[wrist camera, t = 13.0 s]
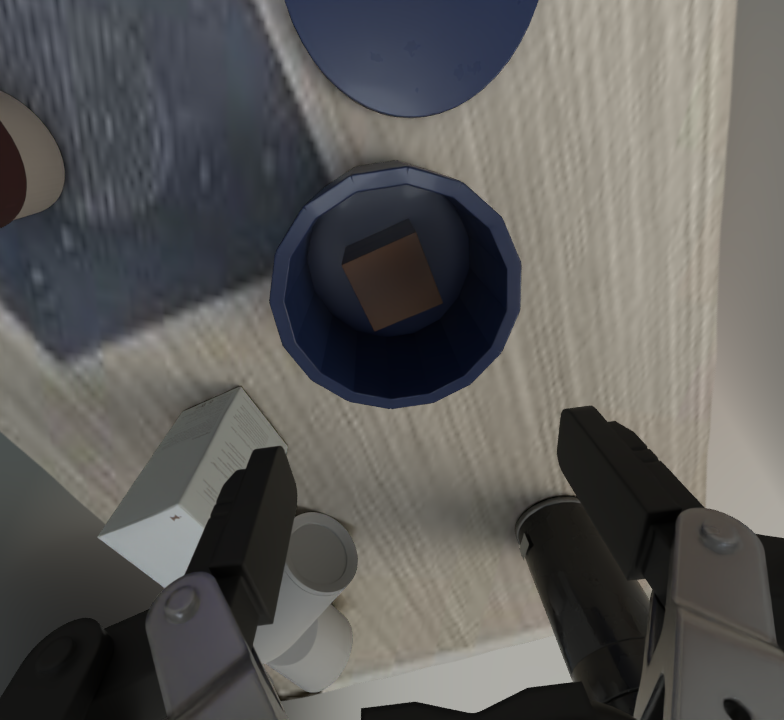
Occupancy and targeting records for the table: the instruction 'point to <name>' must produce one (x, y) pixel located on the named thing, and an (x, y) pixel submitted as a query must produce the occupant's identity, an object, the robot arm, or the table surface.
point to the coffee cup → (26, 163)
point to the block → (391, 275)
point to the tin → (419, 332)
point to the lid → (411, 48)
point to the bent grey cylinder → (311, 605)
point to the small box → (186, 484)
